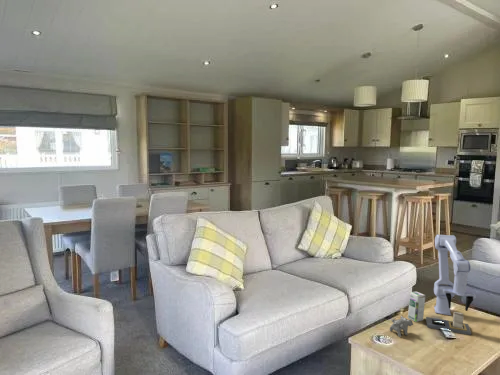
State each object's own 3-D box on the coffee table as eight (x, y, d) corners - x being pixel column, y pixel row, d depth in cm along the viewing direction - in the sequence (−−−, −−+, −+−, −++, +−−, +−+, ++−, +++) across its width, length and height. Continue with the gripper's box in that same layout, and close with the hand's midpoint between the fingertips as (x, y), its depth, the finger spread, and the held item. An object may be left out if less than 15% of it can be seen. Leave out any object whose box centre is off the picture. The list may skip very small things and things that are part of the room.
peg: (452, 326, 199) (453, 311, 198) (461, 328, 198) (462, 313, 197) (453, 329, 195) (454, 315, 195) (462, 331, 194) (463, 316, 193)
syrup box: (407, 317, 208) (409, 292, 206) (415, 316, 210) (417, 290, 209) (415, 322, 203) (417, 296, 201) (423, 320, 205) (425, 294, 204)
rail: (425, 319, 207) (426, 316, 206) (467, 326, 199) (467, 323, 199) (427, 327, 197) (427, 324, 197) (470, 335, 190) (471, 332, 190)
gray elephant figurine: (386, 332, 192) (387, 318, 190) (399, 324, 199) (400, 311, 198) (403, 340, 184) (404, 325, 183) (416, 332, 192) (417, 317, 190)
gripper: (445, 283, 194) (443, 309, 196) (477, 288, 189) (475, 314, 190) (443, 279, 200) (441, 304, 202) (475, 283, 195) (472, 309, 197)
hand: (457, 308), depth 197 cm, fingers open, 7 cm apart
